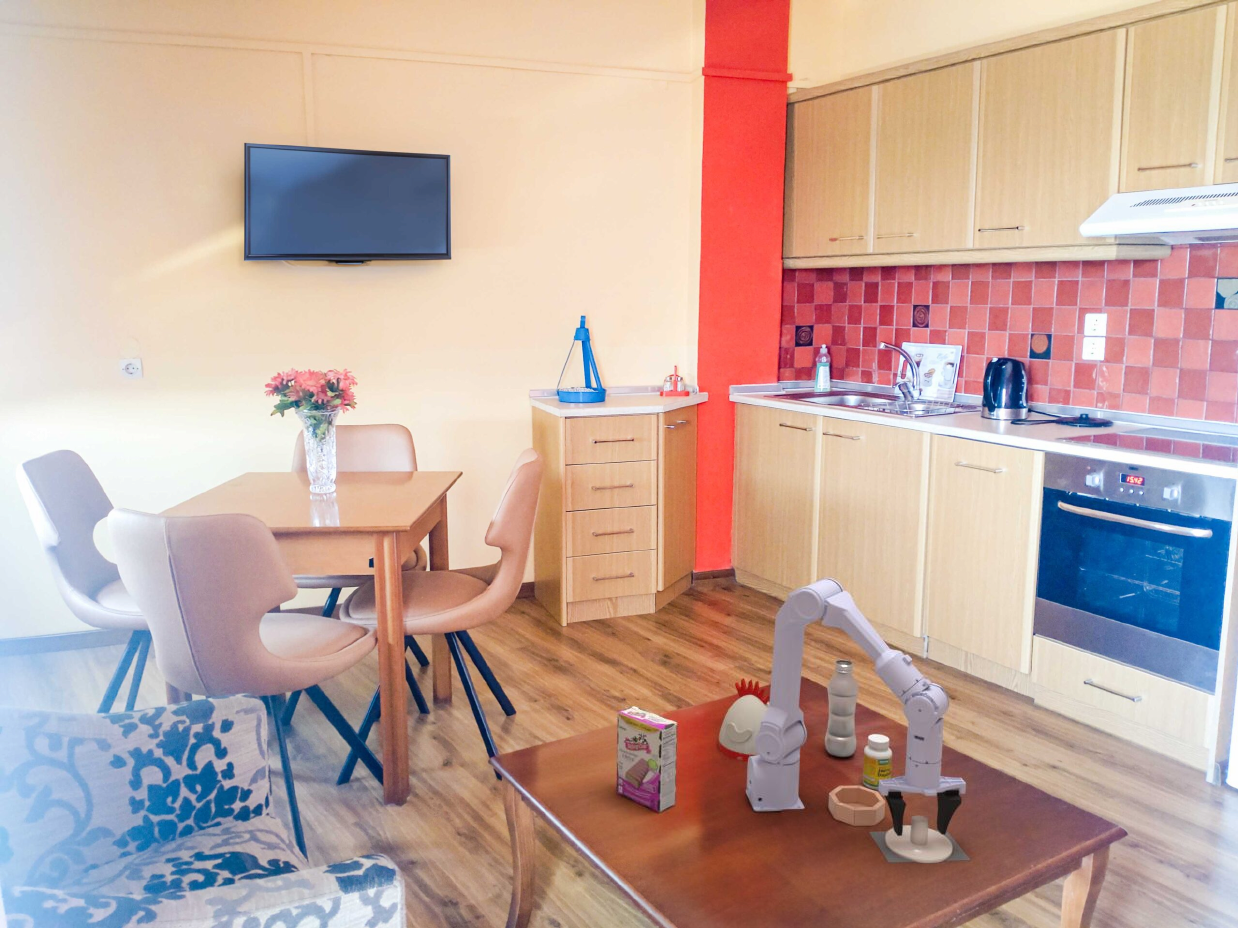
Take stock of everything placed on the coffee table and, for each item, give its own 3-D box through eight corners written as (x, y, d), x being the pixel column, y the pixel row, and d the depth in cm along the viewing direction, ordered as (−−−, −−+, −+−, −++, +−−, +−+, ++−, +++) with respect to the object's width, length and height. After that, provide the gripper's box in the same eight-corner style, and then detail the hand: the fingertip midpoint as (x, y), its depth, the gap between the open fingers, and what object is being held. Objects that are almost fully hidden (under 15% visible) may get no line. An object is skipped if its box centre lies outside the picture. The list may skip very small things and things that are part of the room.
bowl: (838, 828, 173) (839, 810, 173) (823, 803, 182) (824, 786, 182) (889, 827, 174) (890, 809, 173) (872, 802, 183) (873, 784, 183)
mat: (888, 865, 161) (888, 862, 161) (868, 834, 171) (868, 831, 171) (970, 863, 162) (970, 859, 162) (945, 832, 172) (946, 829, 172)
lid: (898, 863, 161) (900, 836, 160) (876, 830, 172) (877, 804, 171) (963, 861, 162) (964, 834, 161) (936, 828, 173) (938, 803, 172)
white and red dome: (738, 729, 216) (740, 664, 214) (795, 745, 208) (798, 678, 206) (706, 750, 205) (708, 682, 203) (765, 768, 197) (767, 697, 195)
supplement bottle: (875, 775, 194) (877, 730, 193) (896, 786, 190) (899, 739, 189) (856, 782, 191) (858, 736, 190) (877, 793, 187) (880, 745, 186)
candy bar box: (614, 794, 185) (615, 711, 183) (632, 785, 189) (633, 704, 186) (659, 814, 177) (661, 728, 175) (676, 805, 181) (678, 720, 179)
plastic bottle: (860, 752, 205) (864, 660, 203) (849, 763, 200) (853, 670, 197) (830, 744, 209) (835, 655, 206) (819, 756, 203) (823, 663, 200)
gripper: (890, 767, 160) (886, 845, 162) (975, 765, 161) (970, 842, 163) (875, 749, 167) (872, 824, 169) (957, 748, 168) (953, 822, 170)
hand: (919, 832), depth 166 cm, fingers open, 7 cm apart
